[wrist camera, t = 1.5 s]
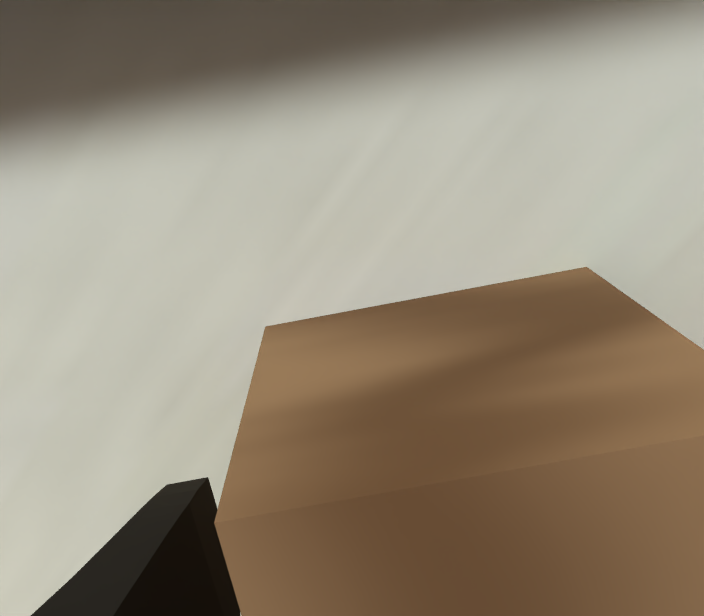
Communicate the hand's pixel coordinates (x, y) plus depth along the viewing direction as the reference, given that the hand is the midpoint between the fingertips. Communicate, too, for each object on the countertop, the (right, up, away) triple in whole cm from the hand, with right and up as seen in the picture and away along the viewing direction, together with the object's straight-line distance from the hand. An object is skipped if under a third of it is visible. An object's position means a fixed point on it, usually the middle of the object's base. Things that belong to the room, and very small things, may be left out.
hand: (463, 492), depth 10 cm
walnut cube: (0, 0, +1) cm, 2 cm away
